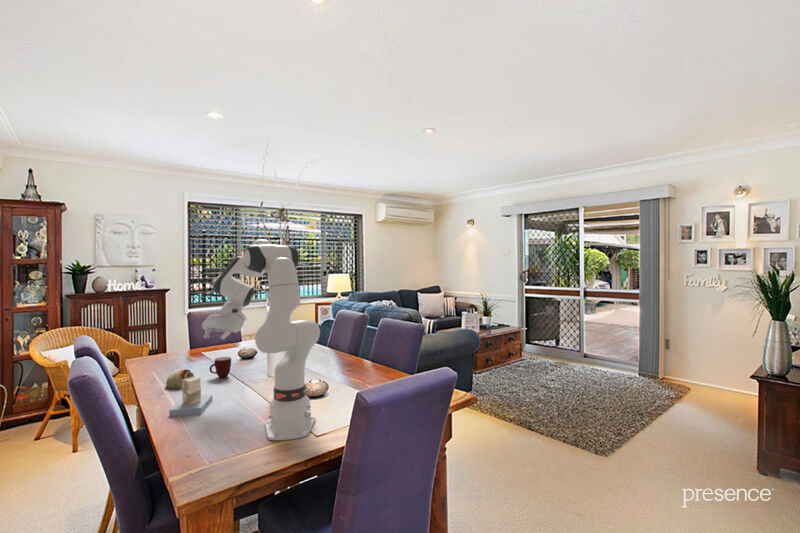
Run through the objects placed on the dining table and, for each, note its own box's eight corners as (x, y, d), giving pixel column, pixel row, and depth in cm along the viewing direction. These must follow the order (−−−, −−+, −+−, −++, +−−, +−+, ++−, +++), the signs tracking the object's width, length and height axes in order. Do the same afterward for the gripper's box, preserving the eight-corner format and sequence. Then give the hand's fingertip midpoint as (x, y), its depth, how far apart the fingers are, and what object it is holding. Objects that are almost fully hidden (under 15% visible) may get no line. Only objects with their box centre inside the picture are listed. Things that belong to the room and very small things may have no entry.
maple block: (200, 401, 172) (200, 378, 172) (190, 405, 168) (189, 381, 167) (193, 399, 174) (192, 376, 174) (182, 403, 170) (182, 379, 170)
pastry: (194, 387, 199) (193, 371, 199) (165, 391, 194) (164, 374, 193) (194, 379, 212) (194, 364, 212) (167, 383, 206) (167, 367, 206)
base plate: (201, 415, 164) (201, 407, 164) (169, 417, 162) (169, 410, 162) (212, 401, 180) (212, 394, 180) (183, 403, 178) (183, 396, 178)
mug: (210, 381, 208) (210, 361, 208) (209, 377, 215) (208, 358, 215) (232, 377, 214) (232, 359, 214) (230, 374, 221) (230, 356, 220)
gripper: (208, 309, 193) (191, 332, 184) (242, 310, 186) (227, 335, 177) (215, 316, 197) (200, 340, 188) (249, 318, 190) (234, 343, 181)
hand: (213, 338), depth 182 cm, fingers open, 8 cm apart
